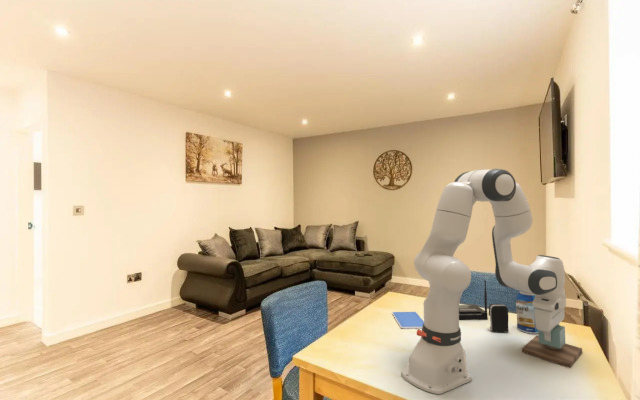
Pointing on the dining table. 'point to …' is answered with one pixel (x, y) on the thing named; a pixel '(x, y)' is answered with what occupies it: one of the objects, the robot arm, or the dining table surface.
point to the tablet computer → (408, 320)
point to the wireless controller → (473, 310)
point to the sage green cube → (554, 337)
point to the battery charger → (498, 317)
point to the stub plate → (553, 352)
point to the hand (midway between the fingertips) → (551, 337)
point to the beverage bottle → (526, 312)
